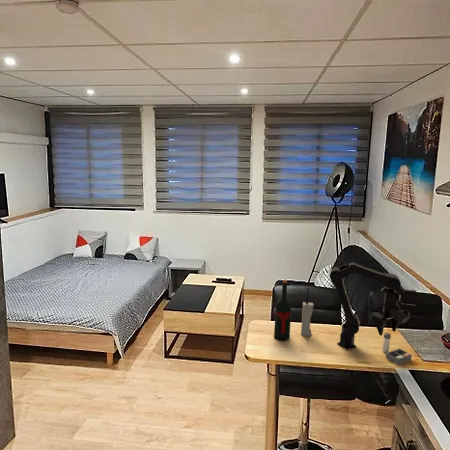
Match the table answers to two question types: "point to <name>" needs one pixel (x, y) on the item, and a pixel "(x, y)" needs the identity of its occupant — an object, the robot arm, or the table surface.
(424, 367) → the table surface
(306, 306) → the vintage mobile phone
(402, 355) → the grey compartment tray
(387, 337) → the plug
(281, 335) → the wine bottle
